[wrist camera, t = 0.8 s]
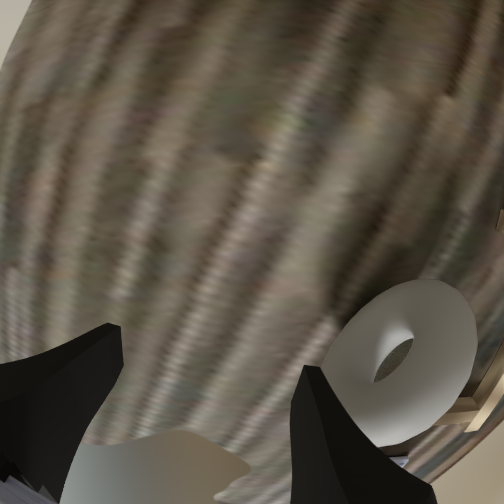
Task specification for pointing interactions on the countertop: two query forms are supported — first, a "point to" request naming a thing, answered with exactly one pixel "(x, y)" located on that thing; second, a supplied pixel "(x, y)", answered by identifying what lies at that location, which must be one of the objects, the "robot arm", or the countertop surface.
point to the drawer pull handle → (479, 389)
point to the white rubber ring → (413, 366)
